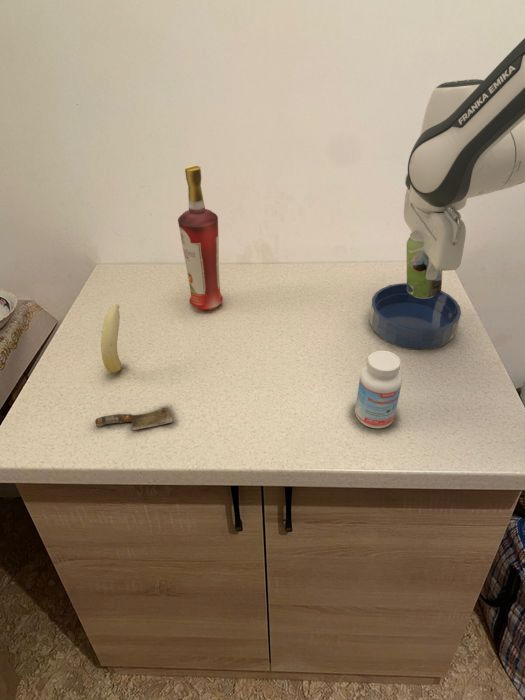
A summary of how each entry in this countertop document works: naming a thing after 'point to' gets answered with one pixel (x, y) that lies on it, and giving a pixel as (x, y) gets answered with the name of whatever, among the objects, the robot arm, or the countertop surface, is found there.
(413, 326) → the bowl
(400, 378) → the pill bottle
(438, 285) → the beverage can
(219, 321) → the countertop surface
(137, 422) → the meat cleaver
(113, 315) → the fruit
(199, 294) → the liquor
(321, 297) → the countertop surface
